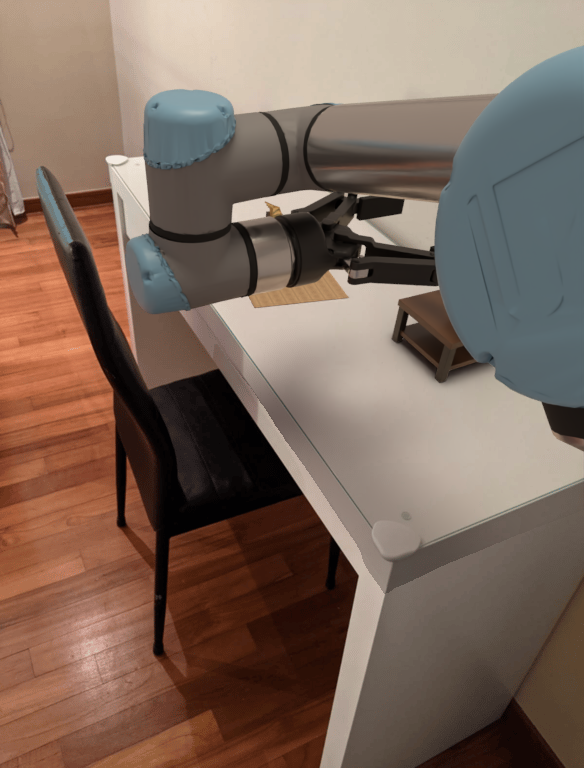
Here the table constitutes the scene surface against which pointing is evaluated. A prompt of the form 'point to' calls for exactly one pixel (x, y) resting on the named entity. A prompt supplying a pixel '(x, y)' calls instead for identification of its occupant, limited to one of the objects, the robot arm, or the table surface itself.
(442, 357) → the miniature coffee table
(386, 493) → the table surface
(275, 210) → the ruin model on sheet
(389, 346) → the table surface
